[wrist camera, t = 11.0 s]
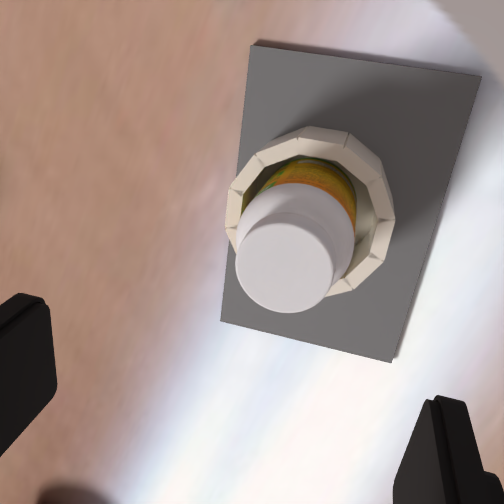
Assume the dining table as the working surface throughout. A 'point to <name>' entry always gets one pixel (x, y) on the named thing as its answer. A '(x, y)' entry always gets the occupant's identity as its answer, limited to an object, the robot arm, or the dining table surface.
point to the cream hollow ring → (359, 171)
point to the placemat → (395, 167)
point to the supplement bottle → (297, 235)
